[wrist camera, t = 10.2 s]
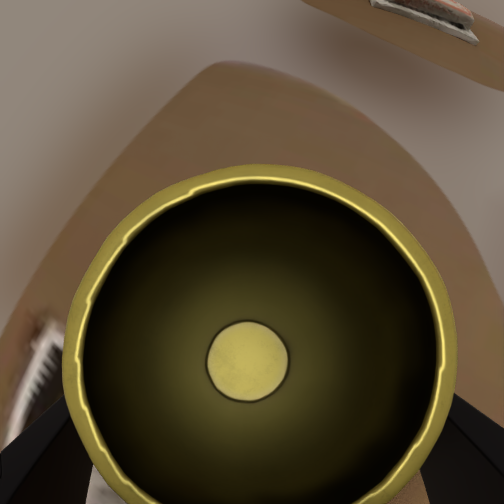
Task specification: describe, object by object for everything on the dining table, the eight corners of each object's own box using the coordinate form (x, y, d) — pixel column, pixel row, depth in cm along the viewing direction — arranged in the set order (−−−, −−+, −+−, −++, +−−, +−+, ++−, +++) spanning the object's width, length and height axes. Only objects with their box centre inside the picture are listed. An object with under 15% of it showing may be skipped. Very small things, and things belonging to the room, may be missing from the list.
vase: (185, 407, 16) (27, 512, 2) (199, 300, 18) (97, 125, 4) (296, 420, 16) (444, 550, 2) (308, 313, 18) (466, 174, 4)
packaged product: (378, -18, 28) (367, -37, 31) (370, 9, 33) (361, -15, 36) (488, 27, 28) (466, 0, 31) (476, 48, 32) (457, 19, 36)
